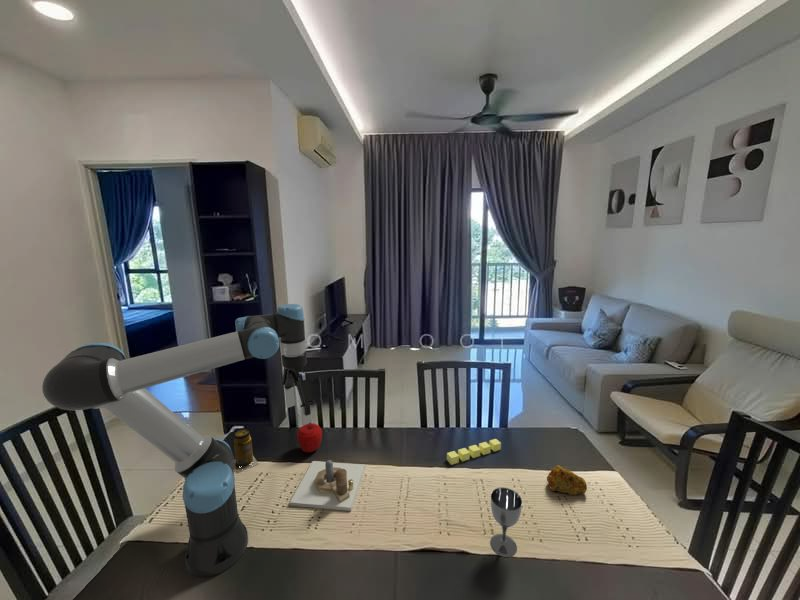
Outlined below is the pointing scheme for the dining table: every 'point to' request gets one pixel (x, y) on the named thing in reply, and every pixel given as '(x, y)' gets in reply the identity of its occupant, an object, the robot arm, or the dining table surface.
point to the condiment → (243, 451)
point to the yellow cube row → (473, 451)
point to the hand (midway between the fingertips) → (298, 414)
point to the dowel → (350, 484)
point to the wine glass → (505, 519)
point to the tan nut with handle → (333, 484)
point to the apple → (309, 437)
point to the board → (311, 496)
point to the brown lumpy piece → (566, 481)
